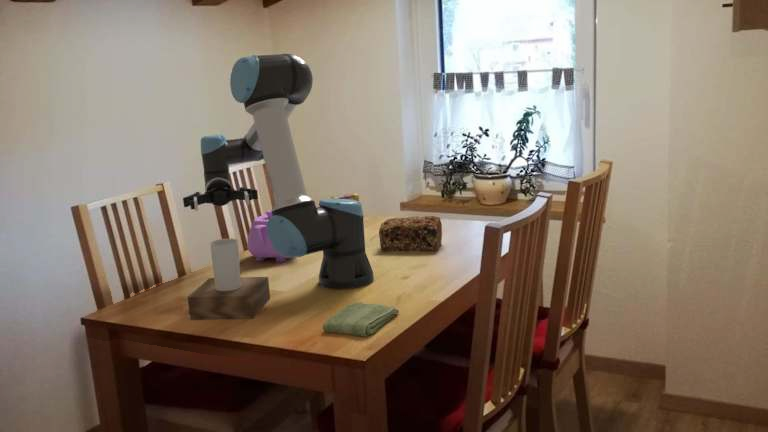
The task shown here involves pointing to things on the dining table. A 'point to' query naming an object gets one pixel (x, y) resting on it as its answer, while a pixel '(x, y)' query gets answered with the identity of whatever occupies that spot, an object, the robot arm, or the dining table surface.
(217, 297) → the walnut block
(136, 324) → the dining table surface
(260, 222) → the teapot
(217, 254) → the mug
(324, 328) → the washcloth
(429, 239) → the bread
